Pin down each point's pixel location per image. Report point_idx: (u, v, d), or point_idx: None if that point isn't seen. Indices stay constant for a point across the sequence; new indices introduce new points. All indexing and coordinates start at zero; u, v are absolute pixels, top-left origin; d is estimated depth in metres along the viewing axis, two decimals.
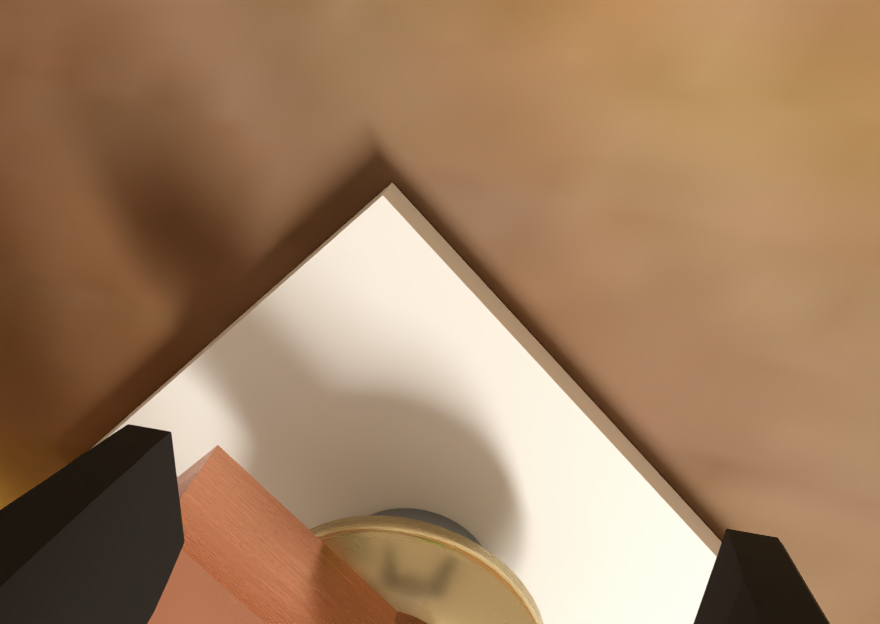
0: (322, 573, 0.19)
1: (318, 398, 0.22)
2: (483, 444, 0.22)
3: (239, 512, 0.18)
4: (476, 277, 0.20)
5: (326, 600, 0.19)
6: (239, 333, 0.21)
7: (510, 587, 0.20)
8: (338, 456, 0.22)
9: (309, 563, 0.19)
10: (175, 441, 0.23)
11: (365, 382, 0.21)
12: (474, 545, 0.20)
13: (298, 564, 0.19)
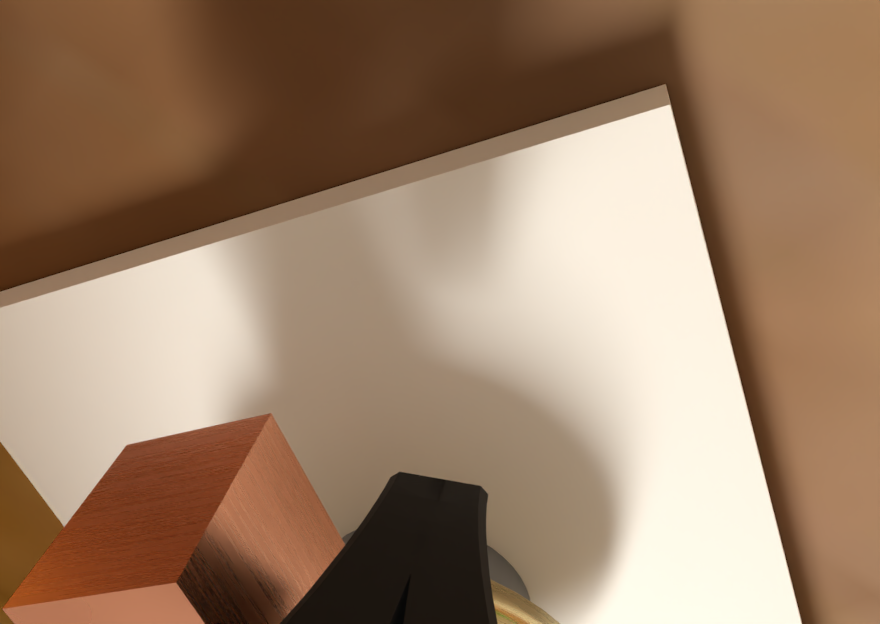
0: None
1: (401, 355, 0.14)
2: (606, 491, 0.15)
3: (284, 541, 0.11)
4: (712, 269, 0.13)
5: None
6: (325, 224, 0.13)
7: None
8: (390, 437, 0.15)
9: None
10: (149, 337, 0.15)
11: (484, 359, 0.14)
12: None
13: None
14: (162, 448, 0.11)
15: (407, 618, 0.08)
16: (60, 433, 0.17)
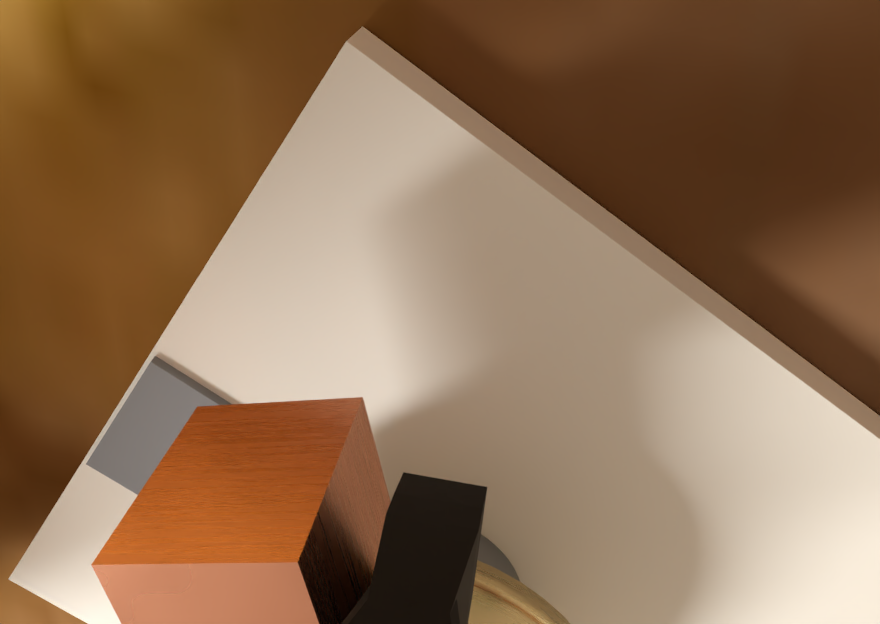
0: None
1: (679, 481, 0.15)
2: None
3: (364, 527, 0.11)
4: None
5: None
6: (780, 382, 0.14)
7: None
8: (582, 505, 0.16)
9: None
10: (541, 285, 0.13)
11: (717, 532, 0.15)
12: None
13: None
14: (242, 416, 0.11)
15: (368, 610, 0.08)
16: (332, 240, 0.14)
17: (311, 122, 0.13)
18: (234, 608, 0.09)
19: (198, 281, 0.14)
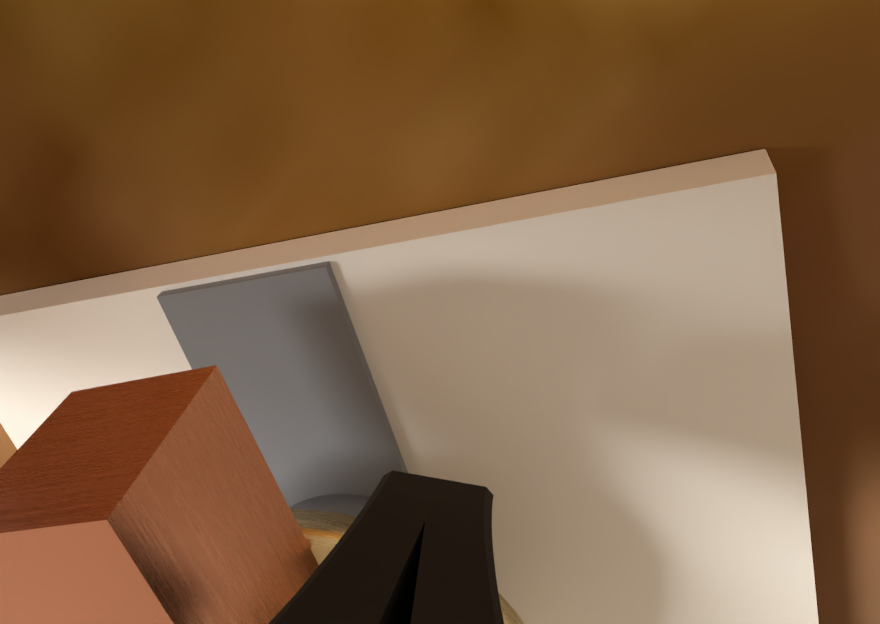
0: None
1: (663, 616, 0.17)
2: None
3: (223, 491, 0.11)
4: None
5: None
6: (803, 601, 0.16)
7: None
8: (574, 590, 0.17)
9: (290, 584, 0.12)
10: (717, 437, 0.14)
11: None
12: (509, 610, 0.14)
13: (277, 586, 0.12)
14: (106, 395, 0.11)
15: (414, 619, 0.08)
16: (595, 294, 0.13)
17: (680, 203, 0.12)
18: (67, 572, 0.09)
19: (441, 238, 0.13)
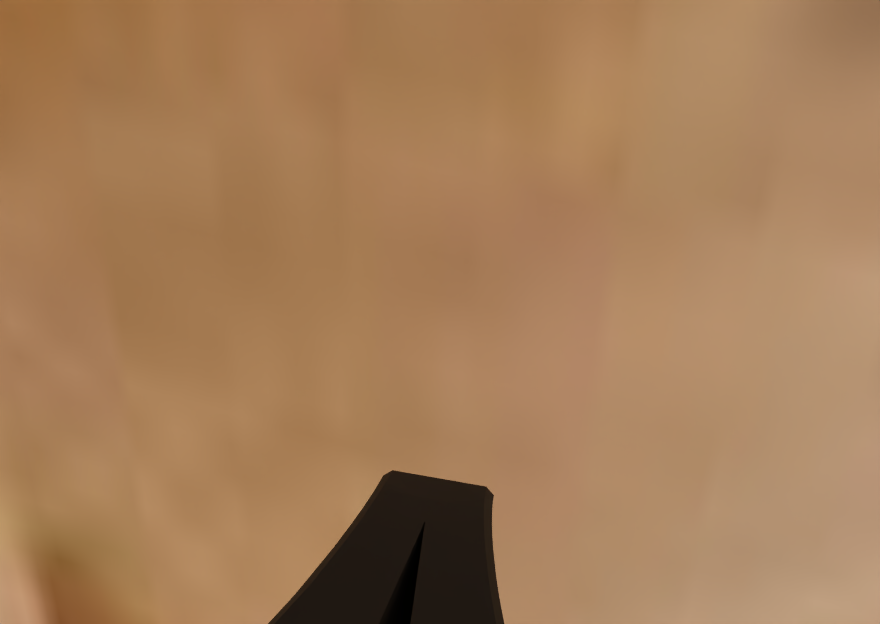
0: None
1: None
2: None
3: None
4: None
5: None
6: None
7: None
8: None
9: None
10: None
11: None
12: None
13: None
14: None
15: (414, 619, 0.08)
16: None
17: None
18: None
19: None
